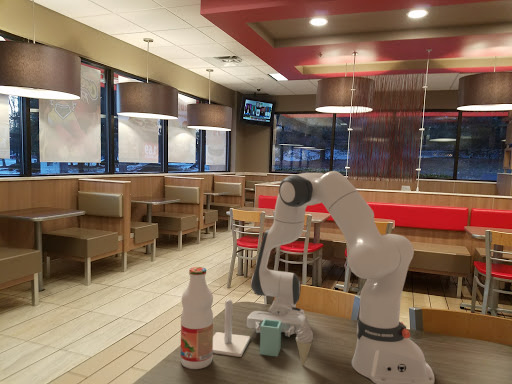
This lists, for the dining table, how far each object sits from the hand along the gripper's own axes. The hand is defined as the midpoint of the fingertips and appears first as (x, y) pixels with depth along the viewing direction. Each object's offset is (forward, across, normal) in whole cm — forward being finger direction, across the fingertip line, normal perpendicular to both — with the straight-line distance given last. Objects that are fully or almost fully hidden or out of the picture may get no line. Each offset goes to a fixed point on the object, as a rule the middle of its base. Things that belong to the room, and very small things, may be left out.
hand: (272, 332), depth 121 cm
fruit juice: (+15, -20, +5) cm, 25 cm away
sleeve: (+3, 0, +5) cm, 6 cm away
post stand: (+3, -14, +5) cm, 15 cm away
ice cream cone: (+9, +11, +5) cm, 15 cm away
